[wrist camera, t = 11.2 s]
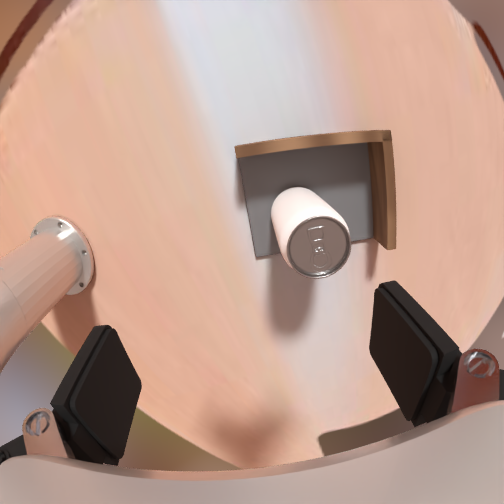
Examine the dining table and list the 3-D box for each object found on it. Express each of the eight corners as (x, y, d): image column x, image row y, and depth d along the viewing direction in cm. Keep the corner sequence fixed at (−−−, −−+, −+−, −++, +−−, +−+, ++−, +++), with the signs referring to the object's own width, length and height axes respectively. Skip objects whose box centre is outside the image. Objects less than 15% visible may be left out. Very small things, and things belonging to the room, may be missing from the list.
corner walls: (256, 255, 37) (257, 272, 33) (236, 145, 32) (234, 146, 28) (379, 235, 37) (395, 248, 32) (372, 130, 31) (390, 130, 27)
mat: (256, 255, 37) (256, 256, 37) (236, 145, 32) (236, 145, 32) (379, 235, 37) (381, 236, 36) (372, 130, 31) (374, 130, 31)
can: (276, 242, 36) (288, 290, 25) (265, 192, 34) (274, 220, 23) (326, 231, 36) (358, 273, 25) (317, 181, 33) (351, 203, 22)
